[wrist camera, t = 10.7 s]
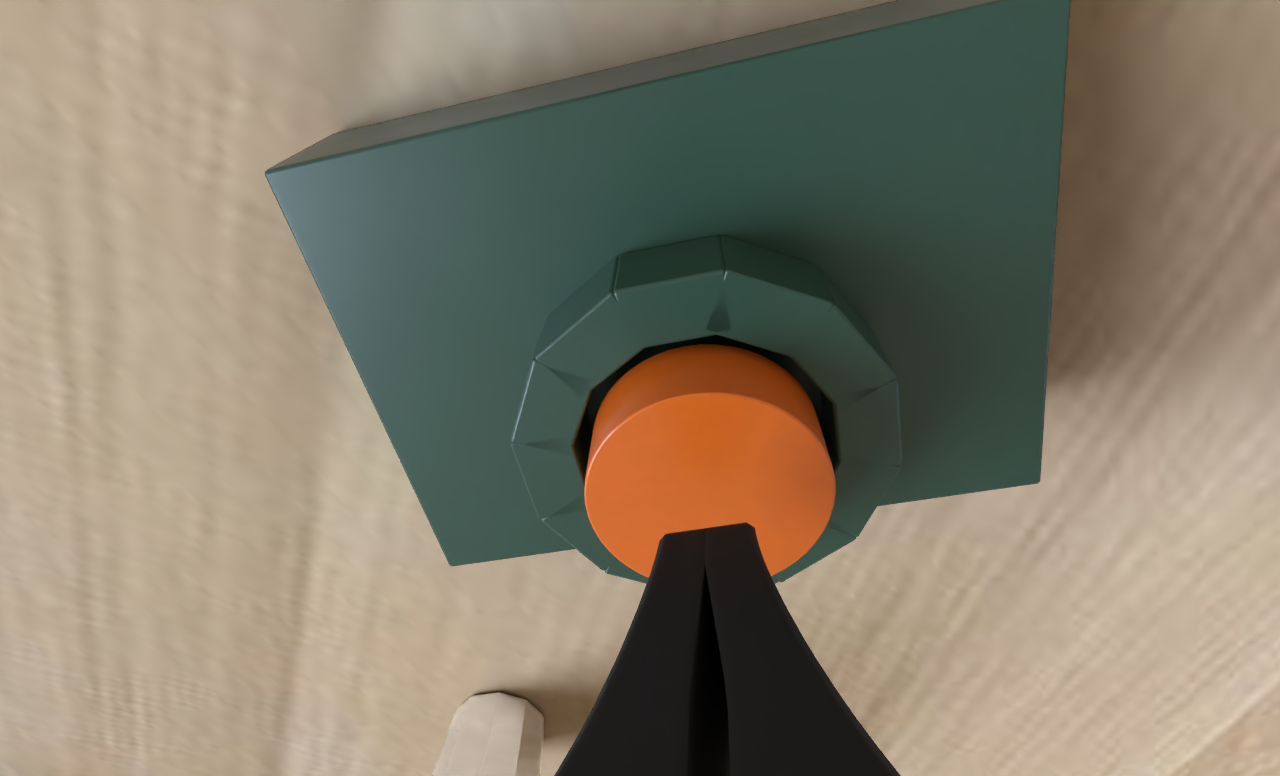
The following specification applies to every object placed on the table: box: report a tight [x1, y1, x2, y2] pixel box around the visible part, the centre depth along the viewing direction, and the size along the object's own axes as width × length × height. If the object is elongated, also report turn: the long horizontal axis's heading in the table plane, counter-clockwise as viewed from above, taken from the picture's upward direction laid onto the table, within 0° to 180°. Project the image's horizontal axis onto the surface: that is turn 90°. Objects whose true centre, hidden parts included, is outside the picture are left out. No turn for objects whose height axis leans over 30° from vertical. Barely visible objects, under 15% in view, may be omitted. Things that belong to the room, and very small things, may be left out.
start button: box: [584, 344, 836, 578], centre depth 14 cm, size 4×4×2 cm
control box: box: [265, 0, 1071, 584], centre depth 16 cm, size 10×14×5 cm
